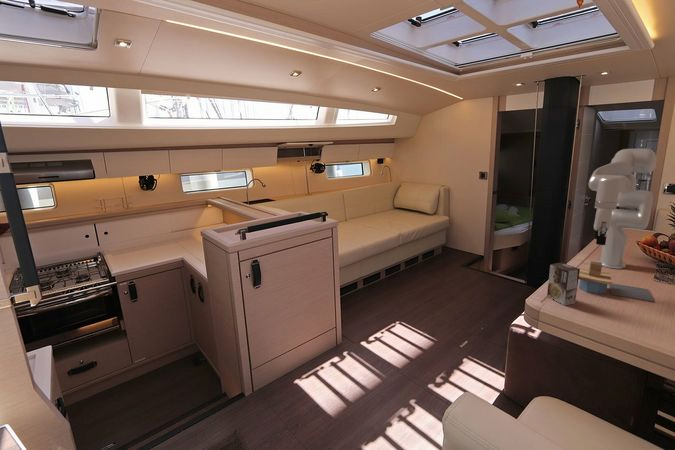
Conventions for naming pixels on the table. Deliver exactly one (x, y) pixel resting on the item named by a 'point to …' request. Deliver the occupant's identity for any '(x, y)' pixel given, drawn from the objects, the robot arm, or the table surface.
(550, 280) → the coffee box
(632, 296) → the charcoal mat
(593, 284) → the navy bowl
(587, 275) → the oak lid
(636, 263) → the table surface
